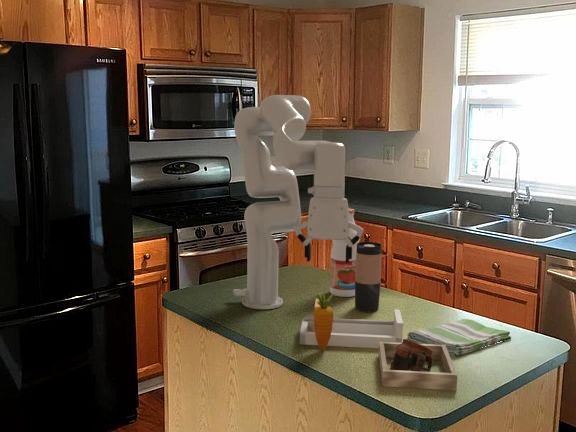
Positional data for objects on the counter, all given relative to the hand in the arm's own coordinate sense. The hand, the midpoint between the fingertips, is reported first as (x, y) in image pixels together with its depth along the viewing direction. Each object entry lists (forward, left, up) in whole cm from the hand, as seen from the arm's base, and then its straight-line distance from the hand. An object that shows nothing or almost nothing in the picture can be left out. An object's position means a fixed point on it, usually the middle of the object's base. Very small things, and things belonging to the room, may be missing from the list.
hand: (328, 261), depth 160 cm
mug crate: (+21, -13, -22) cm, 34 cm away
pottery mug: (+21, -13, -23) cm, 33 cm away
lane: (+6, +6, -22) cm, 24 cm away
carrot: (-1, -3, -23) cm, 23 cm away
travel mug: (+11, +33, -23) cm, 42 cm away
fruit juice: (+4, +48, -23) cm, 53 cm away
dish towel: (+35, +11, -23) cm, 44 cm away
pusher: (-1, +6, -22) cm, 23 cm away
